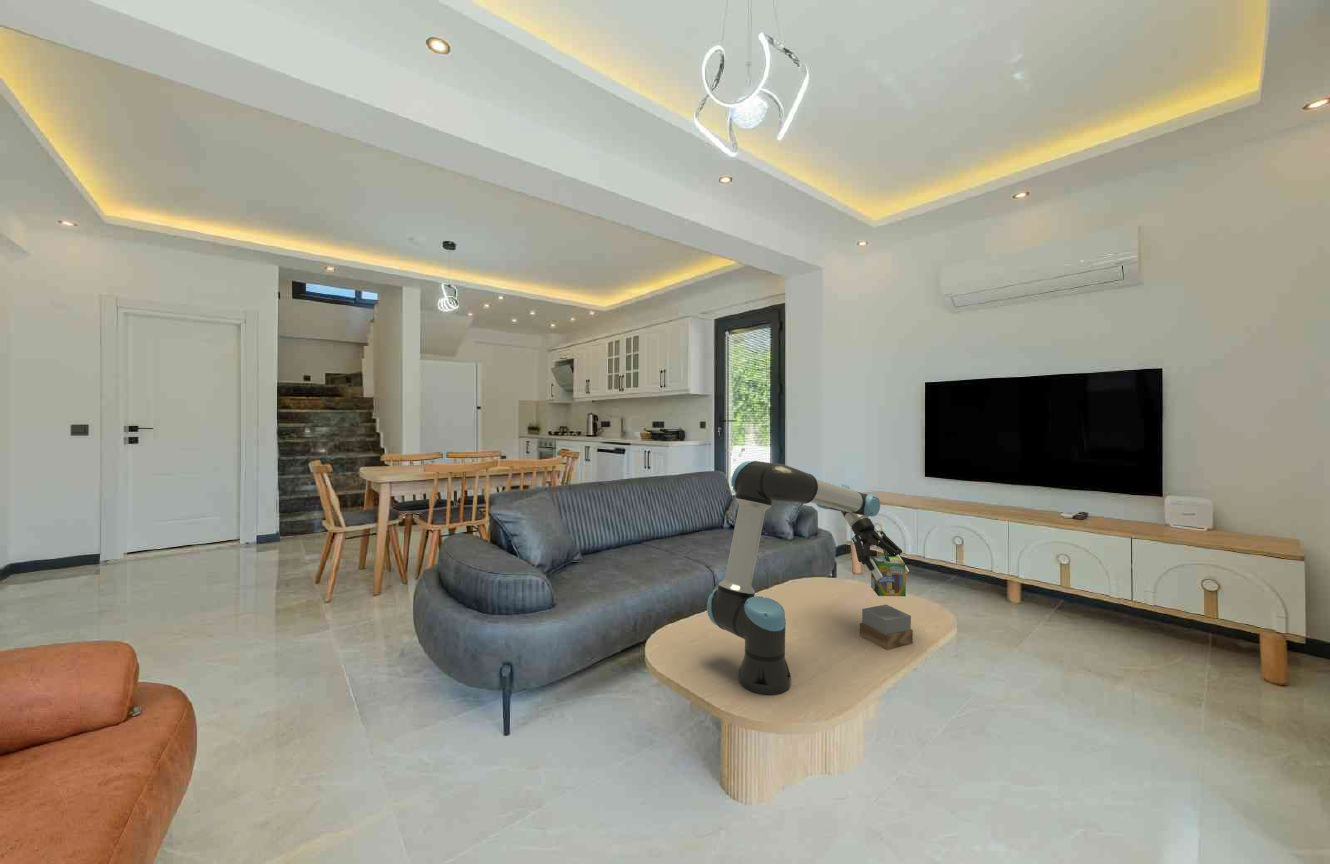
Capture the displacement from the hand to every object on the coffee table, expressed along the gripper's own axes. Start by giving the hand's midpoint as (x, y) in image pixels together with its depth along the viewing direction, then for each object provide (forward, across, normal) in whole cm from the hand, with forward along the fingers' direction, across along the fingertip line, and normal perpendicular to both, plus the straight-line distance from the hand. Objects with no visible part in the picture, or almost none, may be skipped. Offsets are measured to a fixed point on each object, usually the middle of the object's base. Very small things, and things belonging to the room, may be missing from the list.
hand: (893, 575), depth 178 cm
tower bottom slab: (+15, 0, -18) cm, 24 cm away
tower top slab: (+11, 0, -15) cm, 19 cm away
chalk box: (+3, 0, -6) cm, 7 cm away
